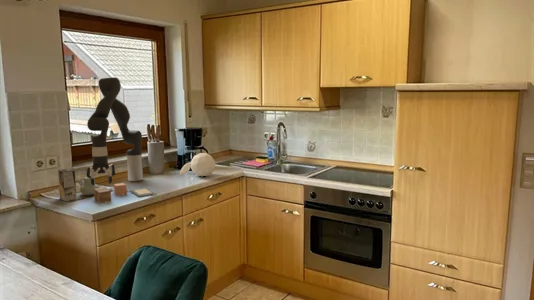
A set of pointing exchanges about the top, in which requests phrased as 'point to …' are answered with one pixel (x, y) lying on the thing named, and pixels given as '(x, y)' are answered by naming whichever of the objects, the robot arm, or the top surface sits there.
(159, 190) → the top surface
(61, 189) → the coffee box
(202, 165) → the cream rounded faceted piece
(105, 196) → the walnut block
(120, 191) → the terracotta cube
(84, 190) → the air freshener
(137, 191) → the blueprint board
